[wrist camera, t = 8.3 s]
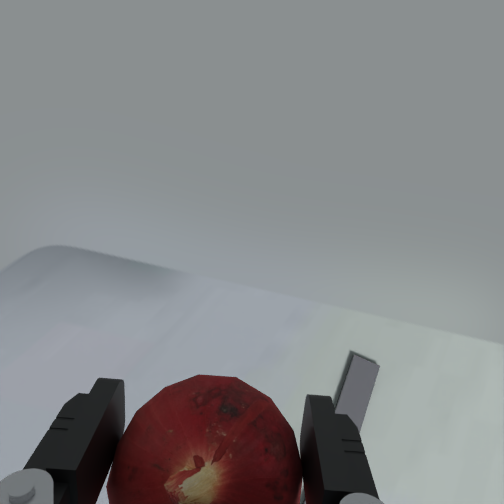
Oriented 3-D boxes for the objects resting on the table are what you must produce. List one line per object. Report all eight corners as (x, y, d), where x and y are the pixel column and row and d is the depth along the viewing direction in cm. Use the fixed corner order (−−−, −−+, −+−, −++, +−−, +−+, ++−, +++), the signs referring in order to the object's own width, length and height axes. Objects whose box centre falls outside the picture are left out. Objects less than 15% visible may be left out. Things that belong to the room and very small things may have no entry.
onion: (189, 366, 18) (163, 306, 11) (311, 436, 17) (369, 421, 10) (105, 505, 16) (3, 544, 9) (241, 596, 15) (252, 723, 8)
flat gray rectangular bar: (283, 561, 27) (284, 562, 26) (353, 355, 33) (354, 354, 32) (313, 577, 27) (315, 578, 26) (378, 366, 32) (380, 365, 32)
